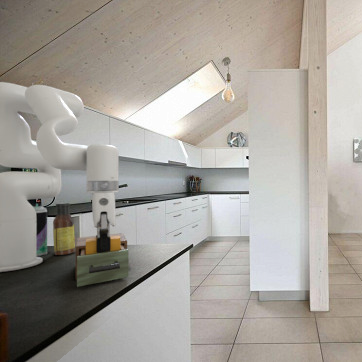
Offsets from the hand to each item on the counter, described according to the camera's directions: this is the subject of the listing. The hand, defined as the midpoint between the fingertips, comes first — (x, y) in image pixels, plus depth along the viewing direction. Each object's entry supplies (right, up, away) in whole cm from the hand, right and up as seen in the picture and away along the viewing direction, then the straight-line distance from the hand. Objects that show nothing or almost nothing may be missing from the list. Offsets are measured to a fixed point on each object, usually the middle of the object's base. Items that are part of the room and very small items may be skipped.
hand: (103, 249), depth 75 cm
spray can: (-43, -9, +24) cm, 50 cm away
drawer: (+1, -8, -1) cm, 8 cm away
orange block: (0, 0, 0) cm, 0 cm away
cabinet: (-7, -9, +9) cm, 14 cm away
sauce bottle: (-34, -9, +25) cm, 43 cm away
